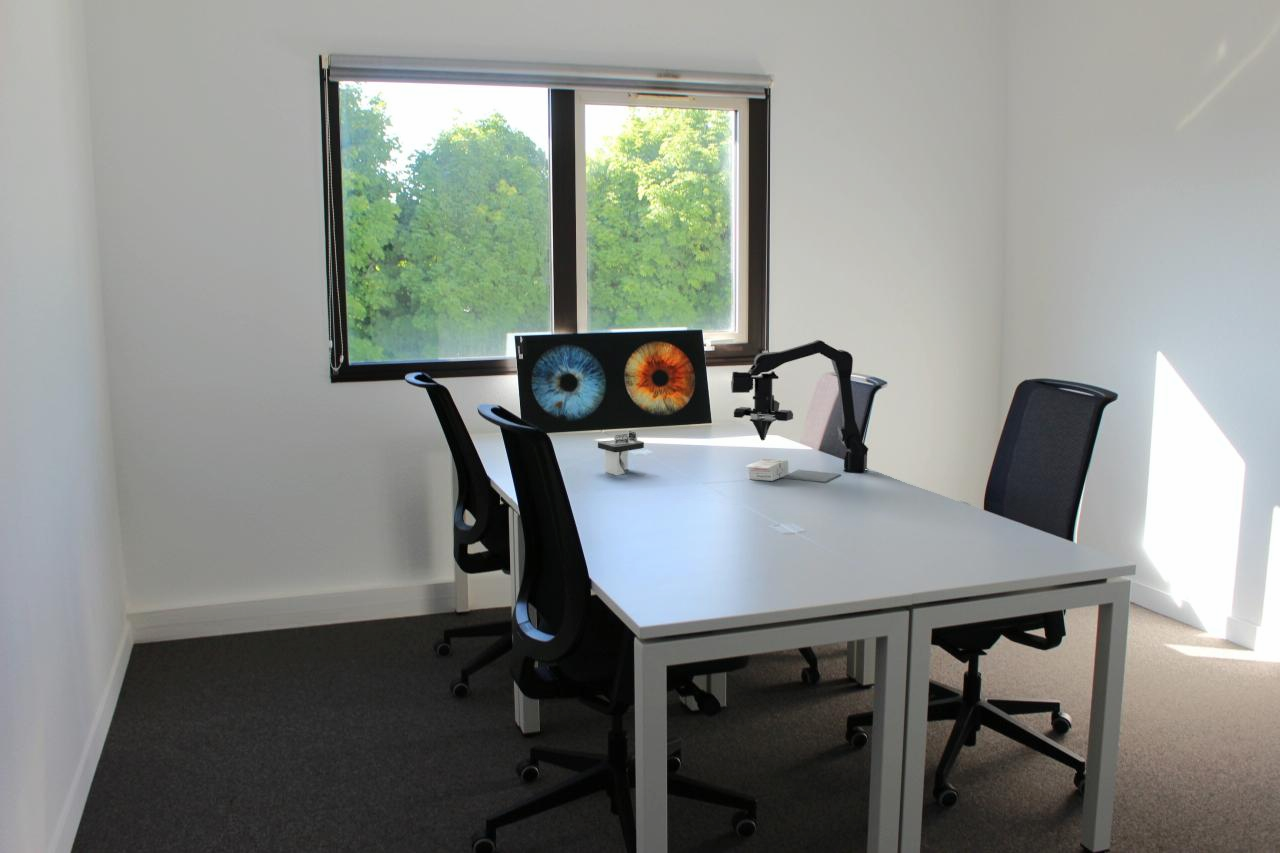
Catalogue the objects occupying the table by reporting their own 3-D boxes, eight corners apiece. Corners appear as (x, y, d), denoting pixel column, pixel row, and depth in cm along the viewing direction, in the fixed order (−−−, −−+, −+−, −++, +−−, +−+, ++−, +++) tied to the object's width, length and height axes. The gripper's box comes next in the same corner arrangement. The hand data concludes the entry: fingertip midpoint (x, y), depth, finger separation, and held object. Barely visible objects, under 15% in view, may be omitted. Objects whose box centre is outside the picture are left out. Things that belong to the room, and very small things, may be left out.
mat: (840, 475, 349) (840, 473, 349) (825, 482, 337) (825, 481, 337) (798, 470, 356) (798, 469, 356) (781, 478, 344) (781, 476, 344)
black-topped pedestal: (607, 485, 336) (606, 442, 334) (565, 471, 357) (564, 431, 355) (680, 475, 351) (681, 434, 349) (636, 462, 373) (636, 424, 370)
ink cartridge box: (765, 473, 352) (744, 481, 340) (764, 458, 352) (743, 465, 340) (789, 475, 348) (768, 482, 336) (788, 459, 347) (768, 466, 335)
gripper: (799, 391, 354) (799, 438, 356) (747, 388, 363) (747, 434, 365) (786, 395, 344) (785, 443, 346) (733, 392, 353) (732, 439, 356)
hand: (762, 440), depth 354 cm, fingers closed
